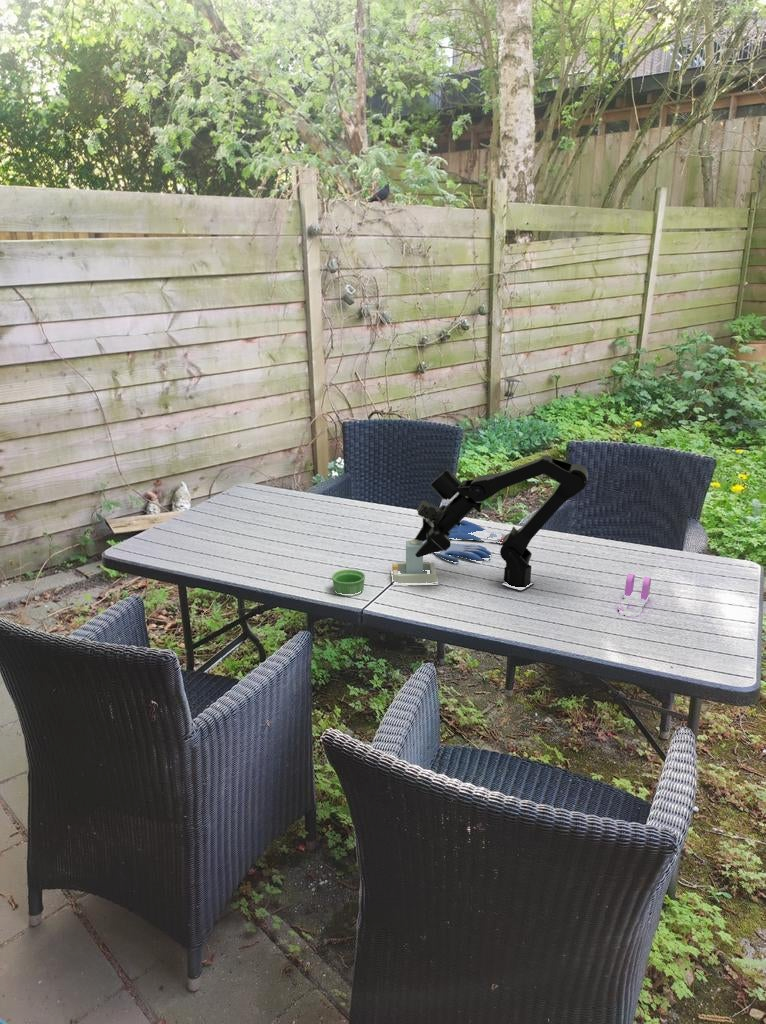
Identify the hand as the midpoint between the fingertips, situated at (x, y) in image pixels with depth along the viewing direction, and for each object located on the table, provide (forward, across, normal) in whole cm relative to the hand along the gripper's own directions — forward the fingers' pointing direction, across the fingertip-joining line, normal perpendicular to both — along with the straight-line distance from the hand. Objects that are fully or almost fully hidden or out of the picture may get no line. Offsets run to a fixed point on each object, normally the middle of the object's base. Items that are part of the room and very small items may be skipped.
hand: (415, 549), depth 198 cm
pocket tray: (+6, 0, +6) cm, 9 cm away
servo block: (+6, 0, +6) cm, 8 cm away
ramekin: (+20, +7, -7) cm, 22 cm away
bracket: (-32, +20, +46) cm, 59 cm away
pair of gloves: (-5, -26, +19) cm, 32 cm away
